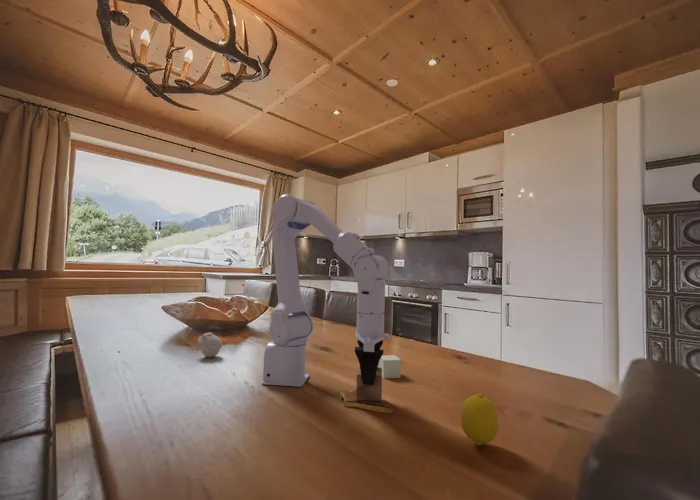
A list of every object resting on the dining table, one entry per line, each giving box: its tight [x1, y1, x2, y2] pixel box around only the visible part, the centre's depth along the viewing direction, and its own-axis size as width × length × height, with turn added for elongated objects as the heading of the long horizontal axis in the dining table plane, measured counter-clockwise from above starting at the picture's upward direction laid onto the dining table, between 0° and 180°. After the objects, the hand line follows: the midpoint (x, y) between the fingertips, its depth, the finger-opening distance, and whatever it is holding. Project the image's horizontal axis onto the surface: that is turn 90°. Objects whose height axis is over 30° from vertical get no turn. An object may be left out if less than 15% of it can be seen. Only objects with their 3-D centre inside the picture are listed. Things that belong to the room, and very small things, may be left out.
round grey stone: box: [197, 332, 223, 358], centre depth 95 cm, size 6×7×7 cm
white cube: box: [378, 354, 402, 379], centre depth 84 cm, size 4×4×4 cm
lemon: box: [460, 393, 499, 447], centre depth 52 cm, size 6×6×8 cm
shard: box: [339, 389, 395, 414], centre depth 65 cm, size 11×8×2 cm
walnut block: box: [356, 366, 383, 401], centre depth 67 cm, size 5×5×5 cm
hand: (368, 378), depth 67 cm, fingers open, 6 cm apart
